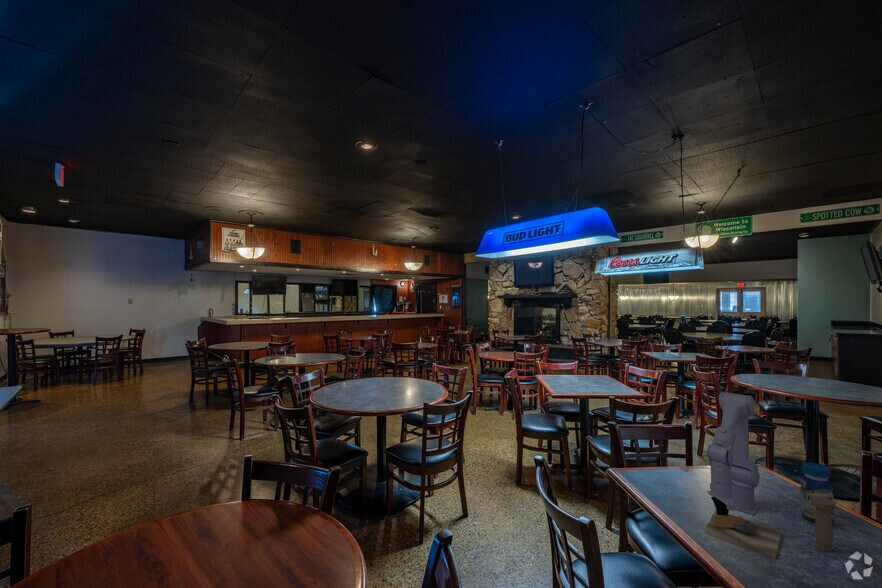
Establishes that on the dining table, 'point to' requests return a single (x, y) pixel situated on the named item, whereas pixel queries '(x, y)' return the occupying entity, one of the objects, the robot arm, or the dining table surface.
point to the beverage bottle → (814, 490)
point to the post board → (749, 537)
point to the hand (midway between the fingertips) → (722, 520)
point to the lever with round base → (734, 523)
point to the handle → (823, 522)
